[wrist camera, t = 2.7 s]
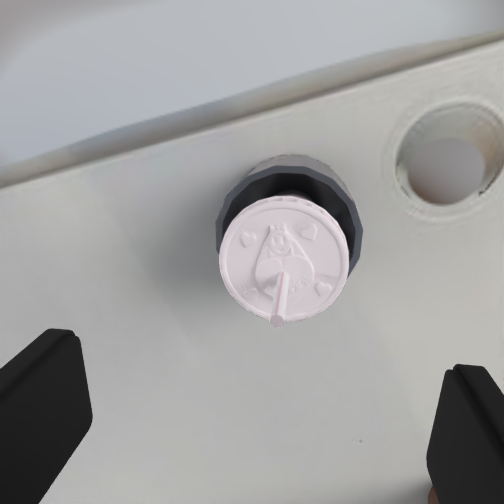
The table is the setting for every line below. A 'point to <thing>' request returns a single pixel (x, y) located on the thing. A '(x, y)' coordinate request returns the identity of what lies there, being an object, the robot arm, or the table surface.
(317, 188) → the grey cup holder
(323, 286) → the smoothie
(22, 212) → the table surface
